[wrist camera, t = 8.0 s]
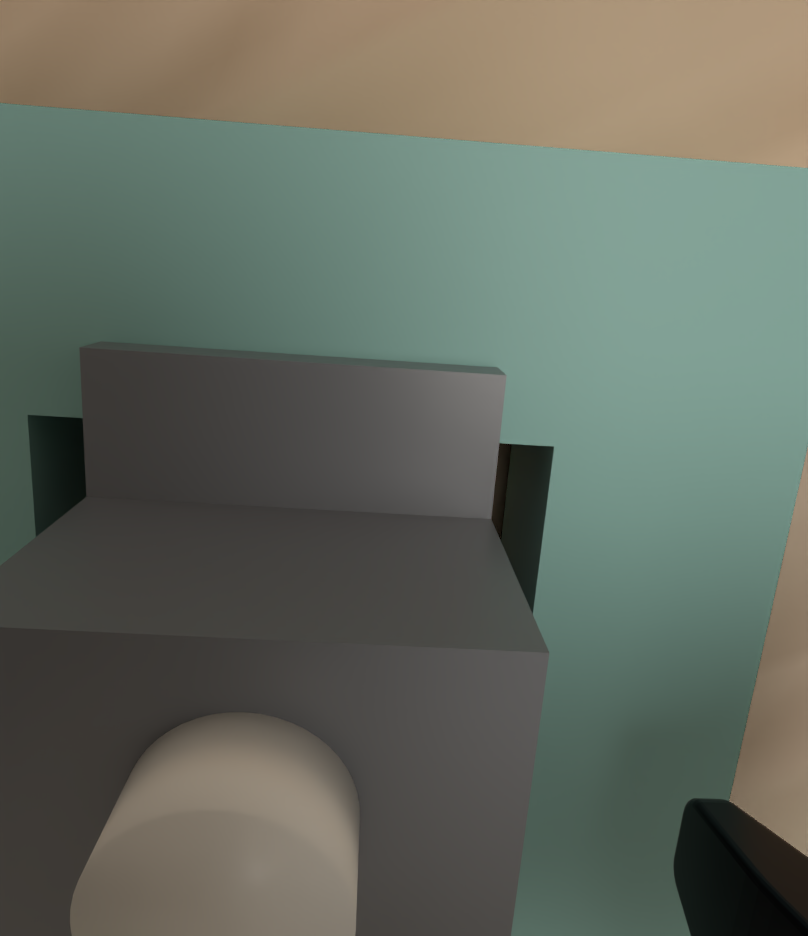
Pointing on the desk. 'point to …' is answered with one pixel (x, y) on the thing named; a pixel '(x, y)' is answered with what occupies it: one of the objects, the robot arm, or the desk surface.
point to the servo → (269, 658)
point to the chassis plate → (524, 411)
